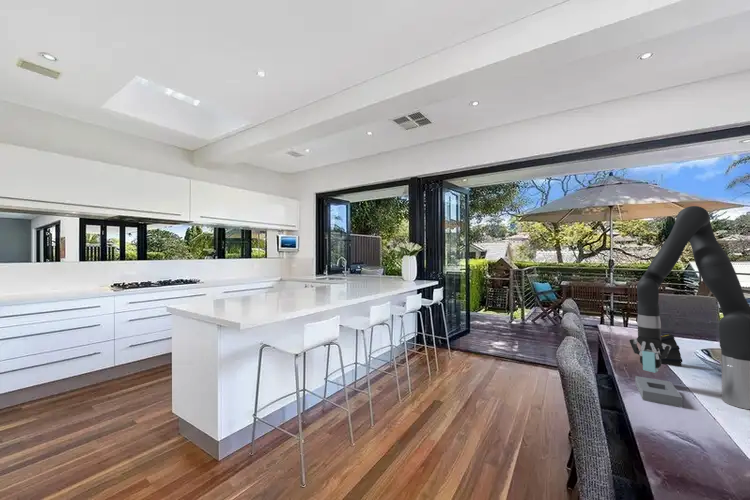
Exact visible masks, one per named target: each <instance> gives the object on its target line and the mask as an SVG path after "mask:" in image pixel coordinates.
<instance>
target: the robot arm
mask: <svg viewBox="0 0 750 500" xmlns="http://www.w3.org/2000/svg"><path fill="white" fill-rule="evenodd" d="M688 243H689V244H690V245H691V250H692V255H693V259H694V262H695V266H696V268H697V270H698V273H699V275H700V278H701V279H702V281H703V283H704V285H705V286H706V288H708V290H709V291H710V293H712V295H713V296H714V298H715V299H716V301H717V302H718V305H719V307H720V310H721V313H722V317H721V318H720V321H719V322H718V323H719V324H718V335H719V336H718V338H719V347H720V349H721V350H720V351H721V355H720V356H721V357H720V358H721V359H720V360H721V400H722V402H724V403H726V404H728V405H730V406H733V407H737V408H740V409H745V410H750V304H749V302H748V301H747V299H746V296H745V295H744V292H743V288H742V286H741V283H740V280H739V278H738V276H737V272H736V270H735V268H734V266H733V264H732V261H731V260H730V258H729V257H728V255H727V253H726V252H725V250H724V249H723V247H722V246H721V244H720V243H719V242H718V240H717V238H716V236H715V233H714V230H713V227H712V224H711V219H710V214H709V212H708V211H707V209H705V208H704V207H702V206H699V205H691V206H687V207H684V208H683V209H681V210H680V211H678V213H677V215H676V219H675V222H674V224H673V226H672V229H671V230H670V233H669V235H668V237H667V238H666V240H665V241H664V243H663V245H662V246H661V247H660V249H659V251H658V252H657V253H656V255H654V257H653V259H652V260H651V262H650V264H649V266H648V267H647V269H646V271H645V272H644V273H643V275H642V276H641V278H640V279H639V280H638V281H637V283H636V292H637V293H636V294H637V319H636V321H637V322H636V324H637V338H630V339H629V341H628V342H629V343H630V346H631V348H632V351H633V353H634V354H637V355H638V356H639V362H640V364H641V366H643V357H642V351H645V350H652V351H653V353H655V358H656V359H655V363H656V368H658V369H659V368H661V367H662V364H661V359H665V358H667V356H668V354H669V351H670V349H671V345H666V344H664V343H663V342H662V340H661V335H662V323H661V317H660V316H661V315H660V314H661V313H660V304H659V294H660V293H659V292H660V291H659V289H660V287H661V285H662V283H663V282H664V280H665V278H666V277H668V275H670V273H671V272H672V270H673V268H674V267H675V266H676V265H677V262H678V261H679V260H680V257H681V256H682V254H683V252H684V250H685V248H686V246H687V244H688ZM637 344H639V345H640V349H639V347H638V345H637ZM661 346H663V349H664V352H663V354H662V355H660V351H659V347H661Z"/></svg>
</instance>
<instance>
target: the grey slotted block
mask: <svg viewBox="0 0 750 500" xmlns="http://www.w3.org/2000/svg"><path fill="white" fill-rule="evenodd" d="M635 386H636V389H637V390H638V391H637V392H638V393H639V395H640V397H641V399H642V401H647V402H652V403H657V404H664V405H668V406H673V407H679V408H683V396H682V395H681V394H680V392H679V390H677V388H676V387H675V385H674V384H673V383H672V381H669V380H668V381H667V380H662V379H655V378H651V377H650V378H649V377H644V376H638V375H635Z"/></svg>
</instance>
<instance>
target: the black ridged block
mask: <svg viewBox="0 0 750 500" xmlns="http://www.w3.org/2000/svg"><path fill="white" fill-rule="evenodd" d="M661 340H662V342H663V343H664V344H666V345H671V349H670V351H669V354H668V356H667V358H665V359H661V365H668V366H673V367H674V366H675V367H680V368H682V367H683V366H682V365H683V364H682V363H683V359H682V357H681V356H682V355H681V352H680V346H679V345H678V343H677V341H676V339H675V336H674V335H672V333H666V334H661ZM651 351H652V350H651ZM659 351H660V355H662V354H663V352H664V349H663V346H661V347H659Z"/></svg>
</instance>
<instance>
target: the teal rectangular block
mask: <svg viewBox="0 0 750 500" xmlns="http://www.w3.org/2000/svg"><path fill="white" fill-rule="evenodd" d="M642 357H643V365H642V370H643V371H646V372H650V373H654V374H655V373H657V372H659V368H656V363H655V359H656V358H655V353H653V351H651V350H649V349H647V350H645V351H642Z"/></svg>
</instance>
